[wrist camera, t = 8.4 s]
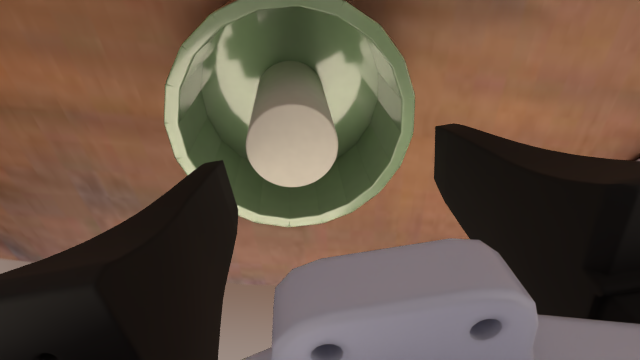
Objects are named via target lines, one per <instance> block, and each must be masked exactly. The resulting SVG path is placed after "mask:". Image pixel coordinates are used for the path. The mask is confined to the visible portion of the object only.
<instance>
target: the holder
mask: <svg viewBox="0 0 640 360" xmlns="http://www.w3.org/2000/svg"><path fill="white" fill-rule="evenodd" d="M282 61H297V62H301V63H303V64H305V65H307V66H309V67H310V68H311V69H312V70H313V71H314V72H315V73H316V74H317V75H318V77H319V79H320V81H321V83H322V87H323V90H324V93H325V97H326V100H327V103H328V107H329V110H330V113H331V117H332V120H333V123H334V127H335V130H336V133H337V137H338V152H337V156H336V159H335V162H334V164H333V165H332V167H331V168H330V170H329V171H328V172H327V173H326V174H325V175H324V176H323V177H321V178H320V179H319V180H317V181H315V182H313V183H311V184H308V185H305V186H300V187H284V186H279V185H276V184H273V183H271V182H269V181H267V180H266V179H264V178H263V177H261V176H260V175H259V174H258V173H257V172H256V171H255V170H254V168H253V167H252V165H251V163H250V162H249V159H248V157H247V153H246V138H247V133H248V128H249V124H250V119H251V115H252V111H253V106H254V102H255V97H256V93H257V88H258V84H259V81H260V79H261V77H262V75H263V74H264V72H265V71H266V70H267V69H268V68H270V67H271V66H273V65H274V64H276V63H279V62H282ZM414 111H415V93H414V90H413V86H412V83H411V79H410V76H409V72H408V69H407V65H406V62H405V60H404V57H403V56H402V54H401V53H400V52H399V50H398V49H397V47H396V46H395V45H394V43H393V42H392V40H391V39H390V38H389V36H388V35H387V33H386V32H385V31H384V29H383V28H382V26H380V24H378V23H377V22H375V21H374V20H372V19H371V18H370V17H368V16H367V15H365V14H364V13H362V12H361V11H359V10H358V9H357V8H355V7H354V6H352V5H351V4H349V3H348V2H346V1H345V0H230V1H229V2H227V3H226V4H224V5H223V6H221V7H220V8H218V9H217V10H215V11H213V12H212V13H211V14H209V16H208V17H207V18H206V19H205V20H204V21H203V22H202V23H201V24H200V25H199V26H198V27H197V28H196V29H195V30H194V31H193V33H192V34H191V35H190V36H189V37H188V38H187V39H186V40H185V41H184V42H183V43H182V46H180V48H179V51H178V53H177V56H176V58H175V61H174V63H173V66H172V68H171V71H170V73H169V75H168V78H167V80H166V84H165V104H164V124H165V128H166V131H167V134H168V137H169V140H170V143H171V147H172V150H173V153H174V156H175V158H176V160H177V161H178V163H179V164H180V166H181V167H182V168H183V170H184V171H185V173H186V174H187V175H189V174H190V173H191V172H193V171H194V170H195V169H196V168H198V167H199V166H201V165H202V164H204V163H207V162H213V161H220V160H223V162H224V165H225V168H226V171H227V175H228V178H229V181H230V184H231V188H232V191H233V194H234V197H235V201H236V204H237V207H238V216H240V217H243V218H245V219H247V220H250V221H252V222H255V223H261V224H268V225H275V226H283V227H297V226H305V225H314V224H321V223H325V222H328V221H331V220H333V219H336V218H338V217H341V216H344V215H346V214H349V213H351V212H353V211H355V210H356V209H357V208H359V207H360V206H362V205H363V204H364V203H366V202H367V201H368V200H370V199H371V198H372V197H374V196H375V195H377V194H378V193H379V192H380V191H381V190H382V189H383V188H384V186H385V185H386V184H387V183H388V181H389V180H390V179H391V177H392V176H393V175H394V174H395V172H396V171H397V170H398V168H399V167H400V165H401V164H402V161H403V159H404V156H405V153H406V151H407V148H408V146H409V143H410V140H411V138H412V135H413V130H414Z"/></svg>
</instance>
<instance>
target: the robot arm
mask: <svg viewBox="0 0 640 360" xmlns="http://www.w3.org/2000/svg"><path fill="white" fill-rule="evenodd" d="M434 180H435V182H436V184H437V186H438V189H439V191H440V193H441V195H442V197H443V199H444V201H445V203H446V204H447V206H448V207H449V209H450V210H451V212H452V213H453V215H454V216H455V218H456V219H457V221H458V222H459V224H460V225H461V227H462V228H463V229H464V231H465V232H466V234H467V235H468V237H469V238H470V239H452V238H450V239H444V240H437V241H431V242H424V243H418V244H412V245H405V246H399V247H393V248H386V249H380V250H373V251H367V252H361V253H354V254H348V255H341V256H335V257H329V258H322V259H319V260H316V261H313V262H311V263H308V264H305V265H303V266H300V267H297V268H294V269H292V270H291V271H290V272H289V273H288V275H287V276H286V277H285V278H284V279H283V280H282V281H281V282H280V283H279V284H278V285H277V286H276V288H275V296H274V307H273V331H272V347H271V348H269V349H266V350H264V351H262V352H259V353H256V354H254V355H252V356H249V357H247V358H244V359H242V360H640V158H639V159H638V160H636V161H627V160H614V159H604V158H596V157H587V156H580V155H573V154H567V153H562V152H556V151H551V150H546V149H542V148H537V147H533V146H530V145H526V144H522V143H518V142H515V141H511V140H508V139H505V138H502V137H498V136H495V135H492V134H489V133H486V132H483V131H480V130H477V129H474V128H471V127H467V126H464V125H459V124H448V125H441V126H436V127H435V166H434ZM237 225H238V207H237V204H236V201H235V197H234V194H233V191H232V188H231V184H230V181H229V178H228V175H227V171H226V168H225V165H224V162H223V160H220V161H213V162H207V163H204V164H202V165H201V166H199V167H198V168H196V169H195V170H194V171H193V172H191V173H190V174H189V175H188V176H186V177H185V178H184V179H183V180H182V181H180V182H179V183H178V184H177V185H175V186H174V187H173V188H172V189H171V190H169V191H168V192H167V193H165V194H164V195H163V196H161V197H160V198H159V199H157V200H156V201H155V202H153V203H152V204H151V205H149V206H148V207H146V208H145V209H143V210H142V211H140V212H139V213H137V214H136V215H134V216H132V217H131V218H129V219H127V220H126V221H124V222H122V223H121V224H119V225H117V226H115V227H113V228H111V229H109V230H108V231H106V232H104V233H102V234H100V235H98V236H96V237H94V238H92V239H90V240H88V241H86V242H84V243H81V244H79V245H77V246H75V247H72V248H70V249H68V250H65V251H63V252H60V253H58V254H55V255H53V256H50V257H48V258H45V259H43V260H40V261H37V262H34V263H31V264H28V265H25V266H23V267H20V268H17V269H14V270H11V271H8V272H5V273H3V274H0V360H218V349H219V336H220V324H221V314H222V304H223V296H224V290H225V285H226V281H227V276H228V272H229V267H230V263H231V258H232V254H233V249H234V245H235V240H236V235H237Z"/></svg>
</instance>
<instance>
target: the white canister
mask: <svg viewBox="0 0 640 360" xmlns="http://www.w3.org/2000/svg"><path fill="white" fill-rule="evenodd" d="M337 152H338V137H337V133H336V130H335V127H334V123H333V120H332V117H331V113H330V110H329V107H328V103H327V100H326V97H325V93H324V90H323V87H322V83H321V81H320V79H319V77H318V75H317V74H316V73H315V72H314V71H313V70H312V69H311V68H310V67H309V66H307V65H305V64H303V63H301V62H297V61H282V62H279V63H276V64H274V65H273V66H271V67H270V68H268V69H267V70H266V71H265V72H264V74H263V75H262V77H261V79H260V81H259V84H258V88H257V93H256V97H255V102H254V106H253V111H252V115H251V119H250V124H249V128H248V133H247V138H246V153H247V157H248V159H249V162H250V163H251V165H252V167H253V168H254V170H255V171H256V172H257V173H258V174H259V175H260V176H261V177H263V178H264V179H266V180H267V181H269V182H271V183H273V184H276V185H279V186H284V187H300V186H305V185H308V184H311V183H313V182H315V181H317V180H319V179H320V178H321V177H323V176H324V175H325V174H326V173H327V172H328V171H329V170H330V168H331V167H332V165H333V164H334V162H335V159H336V156H337Z"/></svg>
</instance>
